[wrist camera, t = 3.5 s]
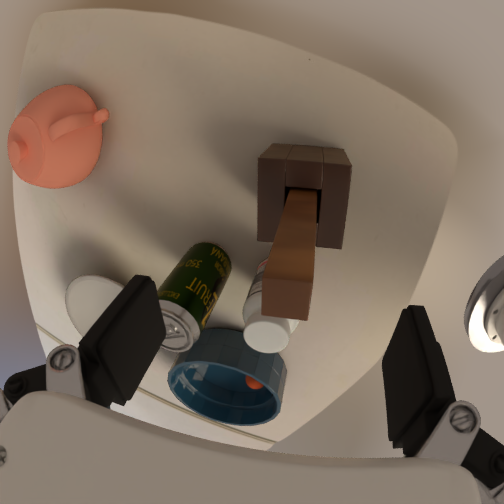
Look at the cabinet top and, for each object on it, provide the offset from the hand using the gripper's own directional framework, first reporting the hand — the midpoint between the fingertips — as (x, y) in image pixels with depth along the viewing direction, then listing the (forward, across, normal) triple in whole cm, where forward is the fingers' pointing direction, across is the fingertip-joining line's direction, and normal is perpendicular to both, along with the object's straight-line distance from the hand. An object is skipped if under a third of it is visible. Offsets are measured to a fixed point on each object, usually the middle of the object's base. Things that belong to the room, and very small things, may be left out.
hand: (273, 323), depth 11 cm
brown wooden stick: (+20, 0, 0) cm, 20 cm away
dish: (+20, +25, +19) cm, 37 cm away
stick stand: (+20, 0, 0) cm, 20 cm away
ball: (+17, +4, +28) cm, 33 cm away
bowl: (+20, +8, +28) cm, 35 cm away
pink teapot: (+20, +26, -6) cm, 33 cm away
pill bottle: (+20, +2, +11) cm, 23 cm away
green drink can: (+20, +10, +10) cm, 24 cm away
